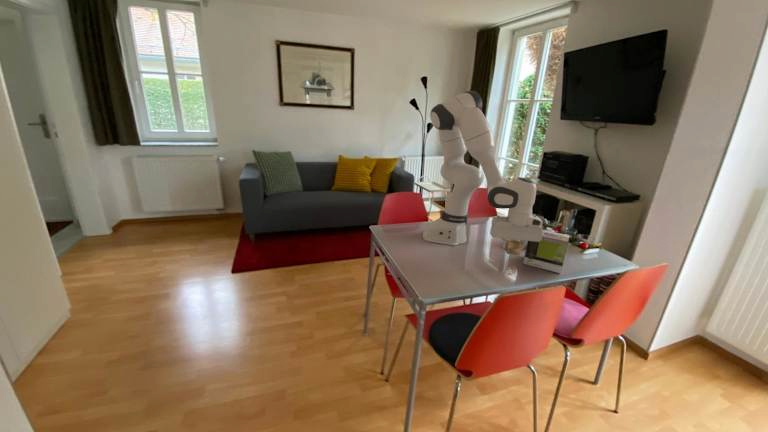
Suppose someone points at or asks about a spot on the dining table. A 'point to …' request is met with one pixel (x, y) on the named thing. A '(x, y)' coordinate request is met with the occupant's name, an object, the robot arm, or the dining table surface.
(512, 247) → the oak block
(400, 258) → the dining table surface
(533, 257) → the tea box
